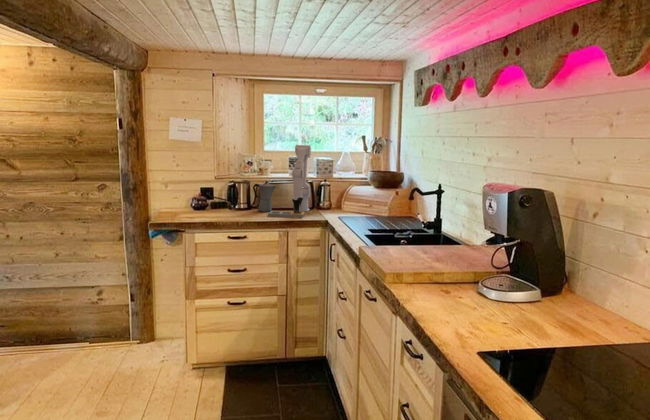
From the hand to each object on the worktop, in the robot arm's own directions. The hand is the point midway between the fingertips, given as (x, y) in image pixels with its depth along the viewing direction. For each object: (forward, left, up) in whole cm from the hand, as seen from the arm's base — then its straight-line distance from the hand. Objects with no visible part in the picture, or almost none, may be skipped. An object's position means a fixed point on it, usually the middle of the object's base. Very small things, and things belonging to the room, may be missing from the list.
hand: (297, 209), depth 300 cm
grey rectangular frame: (0, -7, -4) cm, 8 cm away
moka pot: (-14, -25, -4) cm, 29 cm away
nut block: (0, 0, -3) cm, 3 cm away
